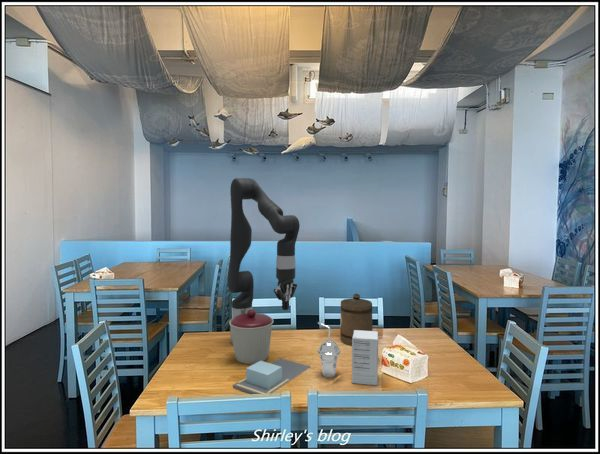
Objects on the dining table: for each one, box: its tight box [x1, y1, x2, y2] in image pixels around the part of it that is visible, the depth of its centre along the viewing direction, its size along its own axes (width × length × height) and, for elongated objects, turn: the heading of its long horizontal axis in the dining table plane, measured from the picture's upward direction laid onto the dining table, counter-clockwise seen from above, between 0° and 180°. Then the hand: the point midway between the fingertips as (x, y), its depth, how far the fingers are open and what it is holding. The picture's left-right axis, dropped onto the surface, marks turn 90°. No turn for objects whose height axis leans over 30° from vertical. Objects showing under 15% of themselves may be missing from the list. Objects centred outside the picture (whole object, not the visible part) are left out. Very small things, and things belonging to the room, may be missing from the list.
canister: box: [228, 309, 274, 365], centre depth 164 cm, size 18×18×21 cm
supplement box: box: [351, 330, 379, 386], centre depth 147 cm, size 10×9×17 cm
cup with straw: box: [317, 321, 341, 378], centre depth 148 cm, size 8×9×20 cm
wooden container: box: [339, 293, 373, 346], centre depth 186 cm, size 15×15×22 cm
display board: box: [232, 357, 312, 395], centre depth 148 cm, size 15×28×1 cm, turn 146°
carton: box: [245, 361, 282, 389], centre depth 144 cm, size 10×8×5 cm
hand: (285, 309), depth 158 cm, fingers closed
